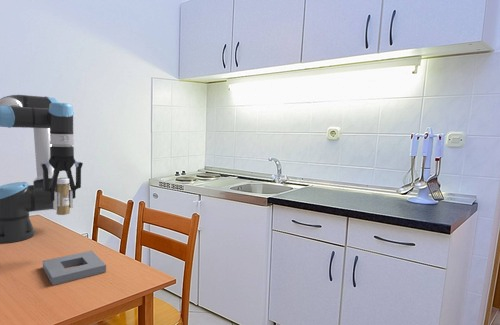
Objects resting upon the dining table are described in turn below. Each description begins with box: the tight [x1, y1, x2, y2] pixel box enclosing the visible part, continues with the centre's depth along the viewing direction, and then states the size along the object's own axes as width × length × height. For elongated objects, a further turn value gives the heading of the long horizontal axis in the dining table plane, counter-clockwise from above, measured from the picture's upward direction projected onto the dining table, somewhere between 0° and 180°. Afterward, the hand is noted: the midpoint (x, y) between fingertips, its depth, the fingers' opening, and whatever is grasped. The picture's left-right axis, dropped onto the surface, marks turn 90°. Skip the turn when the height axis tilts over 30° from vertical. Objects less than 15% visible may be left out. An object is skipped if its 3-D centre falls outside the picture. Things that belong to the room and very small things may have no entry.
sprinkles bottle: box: [55, 177, 71, 216], centre depth 120 cm, size 5×5×14 cm
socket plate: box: [42, 250, 107, 286], centre depth 112 cm, size 16×16×2 cm
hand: (63, 208), depth 121 cm, fingers closed on sprinkles bottle, 4 cm apart
